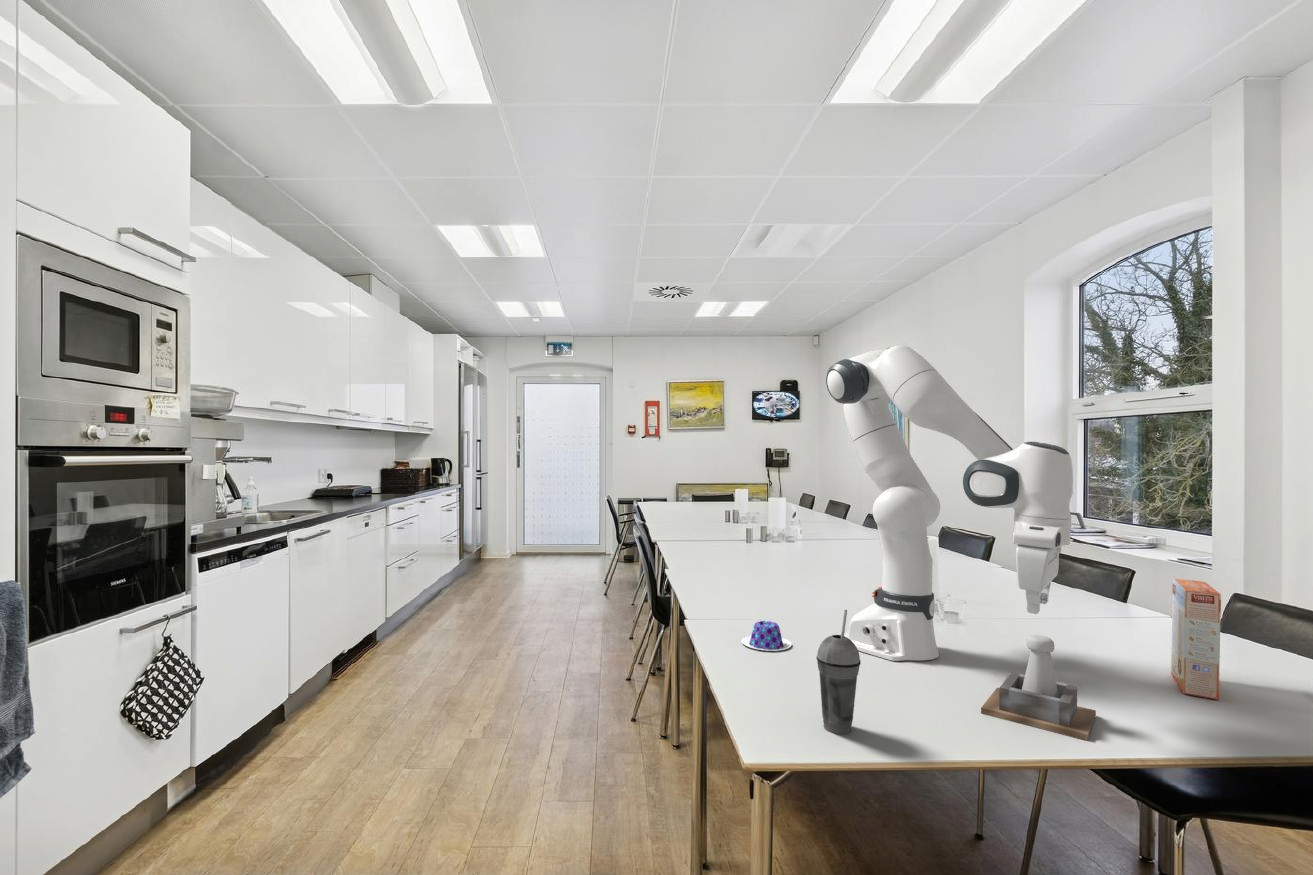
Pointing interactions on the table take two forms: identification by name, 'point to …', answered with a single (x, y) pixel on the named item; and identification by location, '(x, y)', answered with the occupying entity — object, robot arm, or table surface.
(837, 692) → the beverage cup
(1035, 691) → the salt shaker
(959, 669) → the table surface
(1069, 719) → the socket block
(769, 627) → the pudding
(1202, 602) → the cracker box
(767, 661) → the table surface
